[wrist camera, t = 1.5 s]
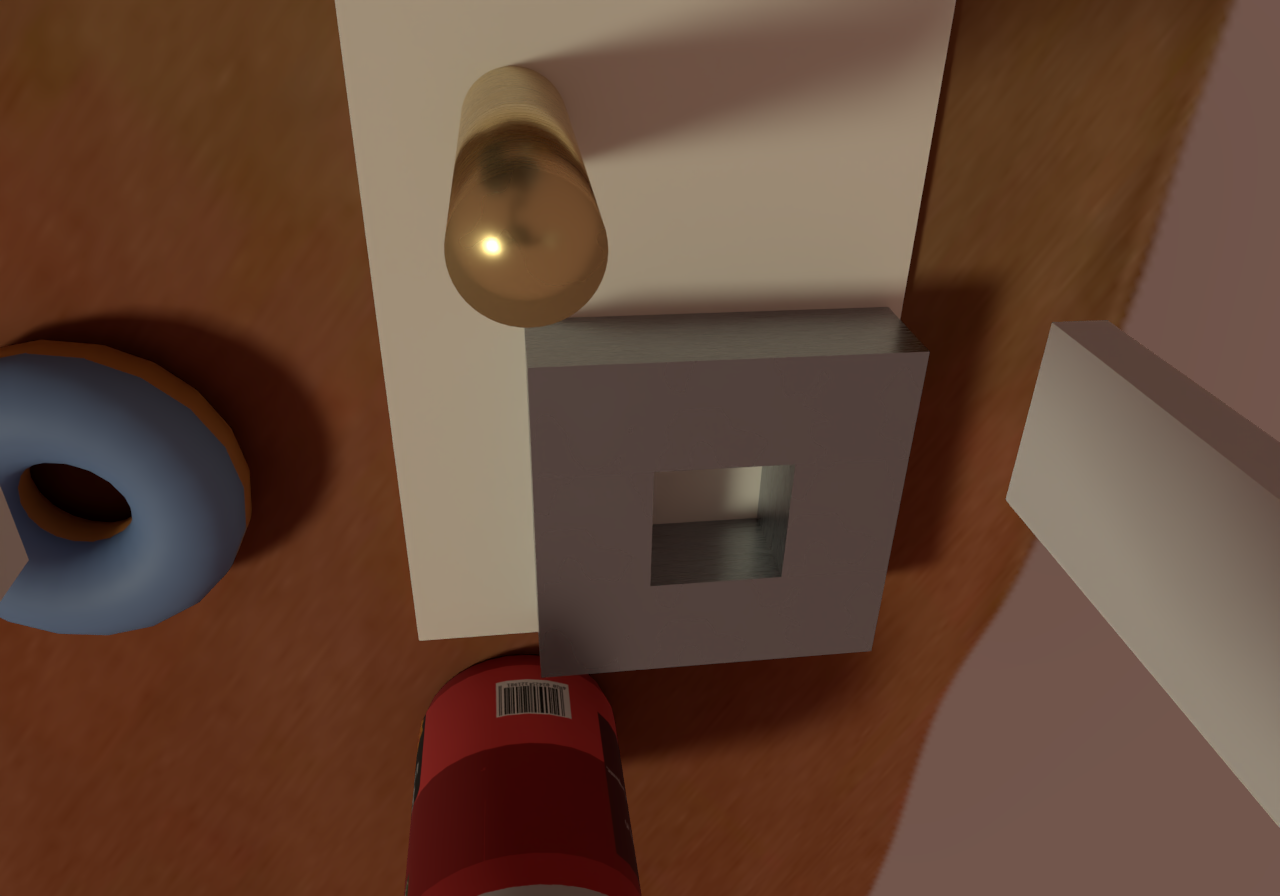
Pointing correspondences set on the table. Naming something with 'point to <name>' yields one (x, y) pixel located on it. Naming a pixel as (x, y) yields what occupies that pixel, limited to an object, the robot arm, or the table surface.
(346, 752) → the table surface
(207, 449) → the doughnut
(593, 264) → the pin
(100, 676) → the table surface
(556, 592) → the square hole block
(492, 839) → the canned food
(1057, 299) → the table surface
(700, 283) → the mat
